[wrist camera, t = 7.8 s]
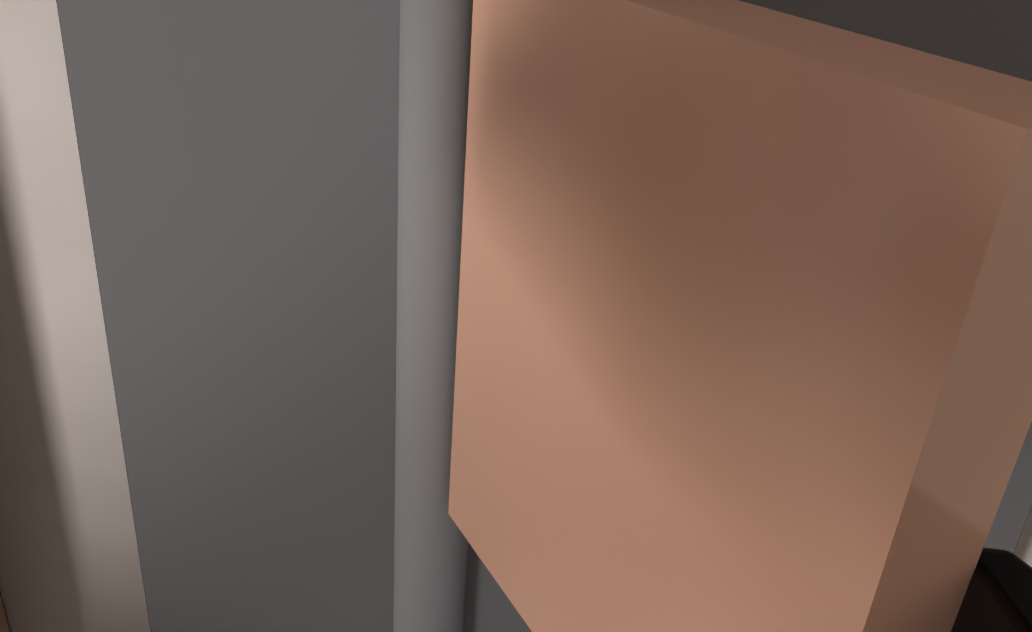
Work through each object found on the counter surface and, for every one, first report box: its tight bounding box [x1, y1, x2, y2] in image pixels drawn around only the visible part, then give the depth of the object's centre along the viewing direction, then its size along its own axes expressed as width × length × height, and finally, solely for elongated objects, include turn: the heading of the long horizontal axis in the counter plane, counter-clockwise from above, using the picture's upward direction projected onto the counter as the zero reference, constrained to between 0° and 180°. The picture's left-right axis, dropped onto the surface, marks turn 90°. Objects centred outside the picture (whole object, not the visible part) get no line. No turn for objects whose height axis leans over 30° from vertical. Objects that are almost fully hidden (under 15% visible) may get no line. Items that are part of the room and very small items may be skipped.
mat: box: [56, 0, 1032, 632], centre depth 13 cm, size 16×14×1 cm
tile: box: [448, 0, 1032, 632], centre depth 10 cm, size 8×1×7 cm
